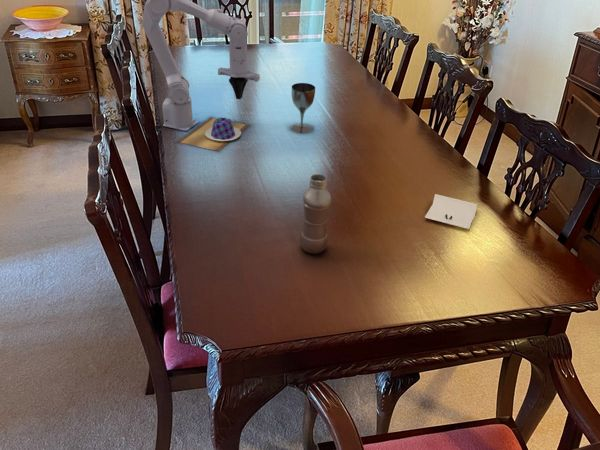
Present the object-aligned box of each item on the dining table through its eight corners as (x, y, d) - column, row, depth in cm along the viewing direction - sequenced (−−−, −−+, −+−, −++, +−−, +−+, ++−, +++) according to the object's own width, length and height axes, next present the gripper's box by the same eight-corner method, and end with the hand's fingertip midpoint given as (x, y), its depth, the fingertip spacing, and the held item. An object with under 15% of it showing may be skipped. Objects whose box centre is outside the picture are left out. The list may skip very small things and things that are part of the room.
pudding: (217, 124, 192) (216, 110, 189) (247, 132, 188) (247, 118, 186) (198, 138, 183) (197, 123, 180) (229, 146, 179) (228, 131, 176)
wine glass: (310, 134, 189) (313, 92, 181) (287, 131, 191) (289, 89, 182) (314, 125, 196) (317, 84, 187) (292, 122, 197) (294, 81, 189)
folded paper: (423, 220, 148) (425, 214, 147) (433, 199, 158) (435, 193, 156) (469, 232, 144) (470, 226, 143) (476, 210, 154) (478, 204, 153)
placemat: (177, 142, 180) (177, 141, 180) (210, 117, 198) (210, 117, 198) (218, 151, 176) (218, 151, 176) (248, 125, 193) (248, 125, 193)
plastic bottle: (309, 237, 139) (313, 168, 128) (331, 247, 136) (338, 177, 125) (294, 250, 135) (297, 178, 124) (317, 260, 132) (323, 188, 121)
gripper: (212, 58, 180) (214, 98, 188) (253, 65, 176) (253, 105, 184) (222, 52, 186) (224, 91, 193) (262, 59, 182) (262, 98, 189)
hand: (239, 98), depth 189 cm, fingers closed
